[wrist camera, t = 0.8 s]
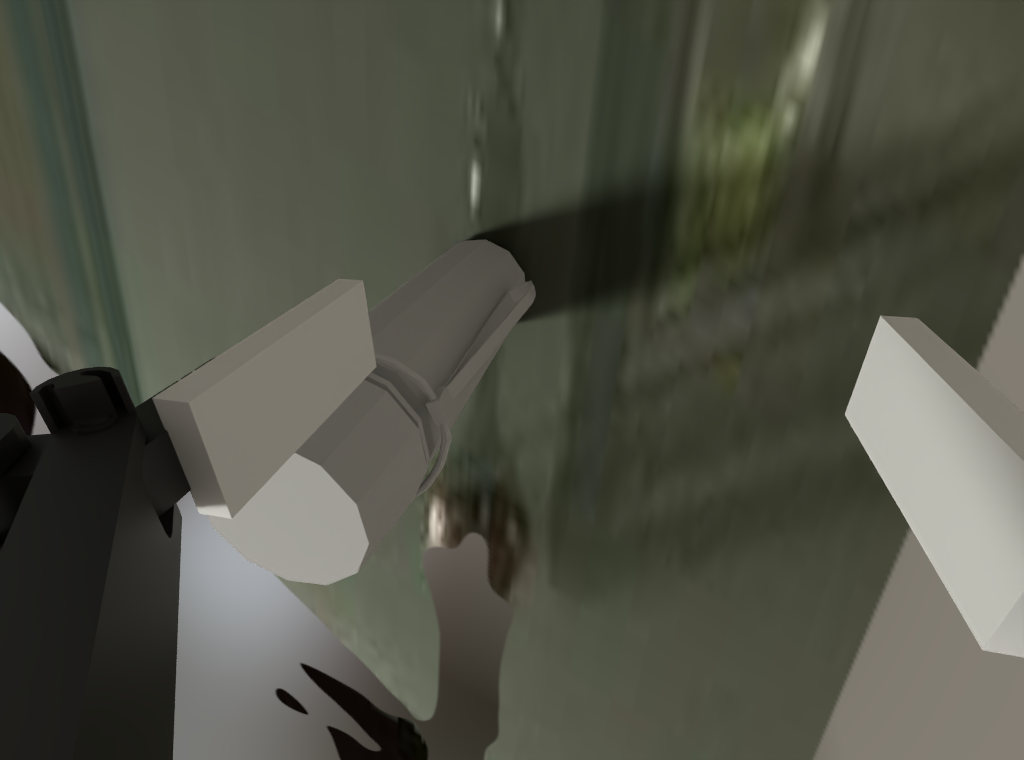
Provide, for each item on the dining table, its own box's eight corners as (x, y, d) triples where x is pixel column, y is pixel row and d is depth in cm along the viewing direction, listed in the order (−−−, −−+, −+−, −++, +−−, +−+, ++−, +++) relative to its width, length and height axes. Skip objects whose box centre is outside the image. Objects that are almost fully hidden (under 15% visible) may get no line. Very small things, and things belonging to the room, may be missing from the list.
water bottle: (460, 342, 42) (260, 603, 21) (419, 249, 39) (135, 439, 18) (569, 312, 39) (464, 585, 17) (533, 207, 36) (351, 380, 14)
